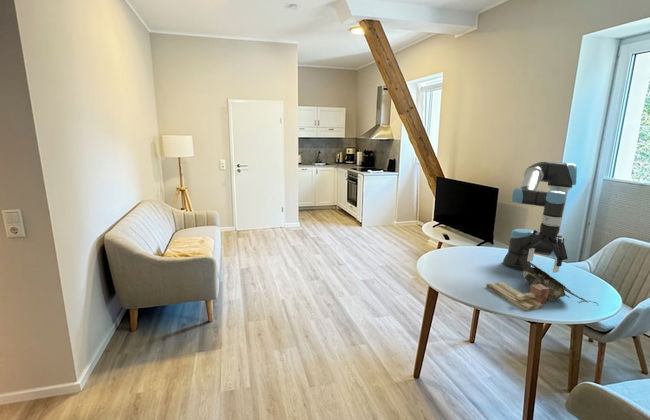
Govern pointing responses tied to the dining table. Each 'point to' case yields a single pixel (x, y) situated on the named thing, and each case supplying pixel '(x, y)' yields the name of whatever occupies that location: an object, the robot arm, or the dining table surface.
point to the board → (513, 296)
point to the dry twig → (576, 296)
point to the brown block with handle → (535, 294)
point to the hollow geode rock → (544, 281)
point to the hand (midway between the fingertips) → (542, 266)
